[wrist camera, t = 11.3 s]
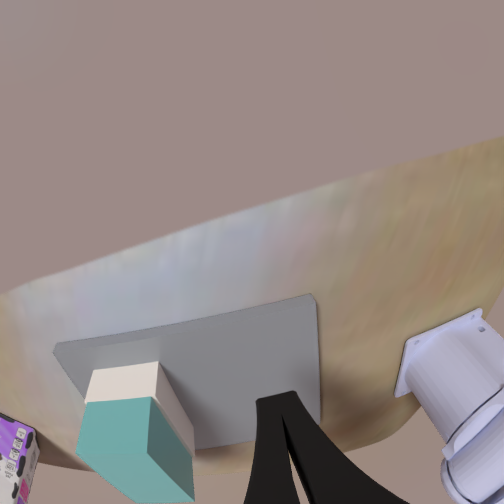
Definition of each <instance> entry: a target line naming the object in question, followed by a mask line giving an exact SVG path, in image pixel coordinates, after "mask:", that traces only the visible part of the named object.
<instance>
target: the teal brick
mask: <svg viewBox="0 0 504 504" xmlns="http://www.w3.org/2000/svg"><path fill="white" fill-rule="evenodd" d="M75 454H77V455H78V456H79V457H80V458H81V459H82V460H83V461H84V462H85V463H86V464H88V465H89V466H90V467H91V468H92V469H93V470H94V471H96V472H97V473H98V474H99V475H100V476H102V477H103V478H104V479H105V480H106V481H108V482H109V483H110V484H111V485H113V486H114V487H115V488H117V489H118V490H119V491H120V492H122V493H123V494H124V495H126V496H127V497H128V498H130V499H131V500H133V501H134V502H135V503H180V502H194V501H195V498H194V484H193V469H192V457H191V455H190V454H189V453H188V451H187V450H186V448H185V447H184V446H183V444H182V443H181V441H180V440H179V439H178V437H177V436H176V434H175V433H174V431H173V430H172V428H171V427H170V425H169V424H168V422H167V421H166V419H165V418H164V416H163V415H162V413H161V411H160V410H159V408H158V407H157V405H156V404H155V402H154V400H153V399H152V397H151V396H149V397H141V398H132V399H121V400H110V401H96V402H87V405H86V409H85V413H84V417H83V421H82V425H81V430H80V434H79V438H78V443H77V448H76V453H75Z"/></svg>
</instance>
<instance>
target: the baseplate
mask: <svg viewBox="0 0 504 504" xmlns="http://www.w3.org/2000/svg"><path fill="white" fill-rule="evenodd" d="M53 354H54V356H55V357H56V359H57V360H58V362H59V363H60V365H61V366H62V368H63V369H64V371H65V372H66V374H67V375H68V377H69V378H70V380H71V381H72V382H73V384H74V385H75V387H76V388H77V389H78V391H79V392H80V393H81V395H82V396H83V397H84V399H85V401H84V402H85V404H86V405H87V402H96V401H110V400H121V399H132V398H141V397H149V396H151V397H152V399H153V400H154V402H155V404H156V405H157V407H158V408H159V410H160V411H161V413H162V415H163V416H164V418H165V419H166V421H167V422H168V424H169V425H170V427H171V428H172V430H173V431H174V433H175V434H176V436H177V437H178V439H179V440H180V441H181V443H182V444H183V446H184V447H185V448H186V450H187V451H188V453H189V454H190V455H191V457H195V450H199V449H207V448H214V447H220V446H227V445H232V444H238V443H243V442H249V441H254V440H256V429H257V413H256V403H255V401H256V400H257V399H258V398H263V397H267V396H271V395H276V394H280V393H284V392H288V391H292V390H294V391H296V392H297V394H298V396H299V398H300V400H301V402H302V403H303V405H304V406H305V408H306V409H307V411H308V412H309V414H310V415H311V417H312V418H313V419H314V421H315V422H316V423H317V425H318V424H320V379H319V352H318V331H317V314H316V302H315V300H314V298H313V297H312V295H311V294H308V295H304V296H300V297H296V298H291V299H287V300H283V301H279V302H275V303H271V304H266V305H262V306H258V307H253V308H249V309H244V310H240V311H235V312H231V313H226V314H221V315H217V316H212V317H207V318H202V319H197V320H192V321H187V322H182V323H177V324H172V325H167V326H161V327H156V328H150V329H145V330H139V331H134V332H128V333H122V334H116V335H110V336H104V337H97V338H91V339H84V340H77V341H70V342H63V343H57V344H56V346H55V348H54V350H53Z"/></svg>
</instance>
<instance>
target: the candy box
mask: <svg viewBox="0 0 504 504" xmlns="http://www.w3.org/2000/svg"><path fill="white" fill-rule="evenodd" d="M39 454H40V450H39V446H38V443H37V437H36V433H35V430H34V429H33V428H31V427H29V426H26V425H24V424H22V423H20V422H17V421H15V420H13V419H11V418H8V417H6V416H5V415H3V414H1V413H0V504H27V502H28V497H29V493H30V488H31V484H32V480H33V476H34V472H35V469H36V465H37V461H38V458H39Z"/></svg>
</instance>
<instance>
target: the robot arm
mask: <svg viewBox="0 0 504 504" xmlns="http://www.w3.org/2000/svg"><path fill="white" fill-rule="evenodd" d="M481 315H482V309H481V308H478V309H475V310H473V311H471V312H469V313H467V314H465V315H463V316H461V317H459V318H456V319H454V320H452V321H450V322H447V323H445V324H443V325H441V326H438V327H436V328H434V329H431V330H429V331H426V332H424V333H422V334H419V335H417V336H414V337H412V338H409V339H408V340H407V341H406V343H405V347H404V352H403V357H402V362H401V367H400V371H399V375H398V380H397V384H396V388H395V392H394V395H395V397H400V396H403V395H405V394H407V393H409V392H413V394H414V395H415V397H416V398H417V400H418V401H419V403H420V404H421V406H422V407H423V409H424V410H425V412H426V413H427V415H428V416H429V418H430V419H431V421H432V423H433V424H434V426H435V427H436V429H437V430H438V432H439V434H440V435H441V437H442V438H443V440H444V441H445V443H446V446H445V447H444V448H443V449H442V450H441V451H442V453H443V454H444V456H445V458H444V459H443V460H442V463H441V481H442V483H443V486H444V488H445V490H446V492H447V493H448V495H449V496H450V498H451V499H452V500H453V501H454V502H455V503H457V504H504V339H503V338H502V337H501V336H500V335H499V334H498V333H497V332H496V331H495V330H494V329H493V328H492V327H491V326H490V325H489V324H488V323H486V322H485V321H484V320H483V319H482V318H481ZM255 403H256V413H257V429H256V442H255V452H254V459H253V465H252V470H251V476H250V481H249V485H248V489H247V493H246V497H245V500H244V504H300V502H299V498H298V495H297V491H296V488H295V485H294V481H293V477H292V471H291V465H290V459H289V453H290V456H291V458H292V461H293V463H294V466H295V468H296V471H297V473H298V476H299V478H300V481H301V483H302V486H303V488H304V491H305V493H306V495H307V498H308V501H309V503H310V504H409V503H408V502H406V501H404V500H402V499H401V498H399V497H397V496H396V495H394V494H393V493H391V492H390V491H388V490H387V489H385V488H384V487H382V486H381V485H379V484H378V483H377V482H375V481H374V480H373V479H371V478H370V477H369V476H368V475H366V474H365V473H364V472H363V471H362V470H360V469H359V468H358V467H357V466H356V465H355V464H354V463H353V462H351V461H350V460H349V459H348V458H347V457H346V456H345V455H344V454H343V453H342V452H341V451H340V450H339V449H338V448H337V447H336V446H335V445H334V443H333V442H332V441H331V440H330V439H329V438H328V437H327V435H326V434H325V433H324V432H323V431H322V430H321V428H320V427H319V426H318V425H317V423H316V422H315V421H314V419H313V418H312V417H311V415H310V414H309V412H308V411H307V409H306V408H305V406H304V405H303V403H302V402H301V400H300V398H299V396H298V394H297V392H296V391H294V390H292V391H288V392H284V393H280V394H276V395H271V396H267V397H263V398H258V399H257V400H256V401H255ZM288 451H289V453H288Z"/></svg>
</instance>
